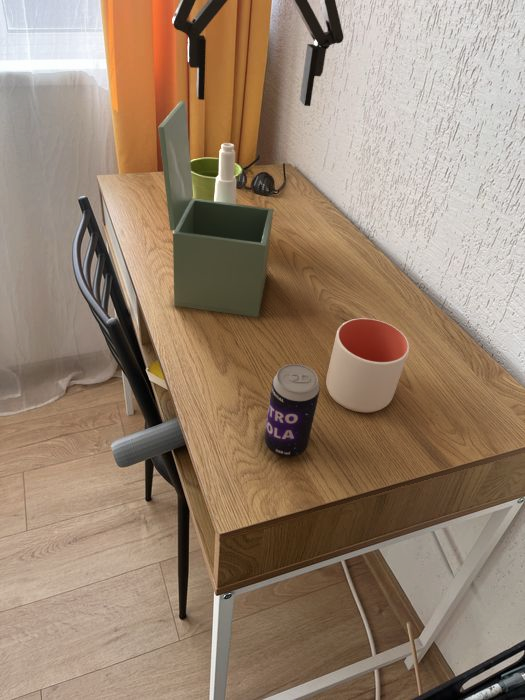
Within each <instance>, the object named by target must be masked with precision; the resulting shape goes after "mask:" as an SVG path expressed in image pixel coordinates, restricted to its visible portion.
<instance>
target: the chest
mask: <svg viewBox="0 0 525 700" xmlns="http://www.w3.org/2000/svg"><path fill="white" fill-rule="evenodd" d="M273 216H274V208H269V207H260V206H253V205H246V204H238V203H236V204H232V203H224V202H216V201H209V200H201V199H194V197H192V199H191V201H190V203H189V205H188V206H187V208H186V210H185V212H184V214H183V216H182V218H181V220H180V222H179V224H178V226H177V228H176V230H175V231H174V230H173V232H172V259H173V260H172V261H173V263H172V267H173V306H174V307H180V308H187V309H195V310H202V311H210V312H216V313H223V314H230V315H236V316H237V315H238V316H245V317H253V318H259V314H260V308H261V306H262V305H261V304H262V299H263V294H264V289H265V283H266V278H267V271H268V262H269V252H270V243H271V236H272V234H271V233H272V225H273Z"/></svg>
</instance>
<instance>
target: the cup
mask: <svg viewBox="0 0 525 700" xmlns="http://www.w3.org/2000/svg"><path fill="white" fill-rule="evenodd" d="M409 353H410V343H409V340H408V338H407V337H406V335H405V334H404V333H403V332H402V331H401V330H400V329H398V328H397V327H395V326H394V325H392V324H390V323H388V322H385V321H382V320H379V319H375V318H366V317H363V318H362V317H361V318H360V317H359V318H353V319H349V320H347V321H344V322H343V323H342V324H341V325H339V327H338V328H337V331H336V333H335V338H334V342H333V347H332V350H331V356H330V360H329V364H328V369H327V374H326V378H325V385H326V390H327V392H328V393H329V396H331V398H332V399H333V400H334V401H335V402H336V403H337V404H339V405H340V406H342V407H343V408H345V409H347V410H350V411H352V412H358V413H374V412H379V411H381V410H383V409H384V408H386V407H388V406H389V404H391V402H392V401H393V398H394V396H395V393H396V390H397V387H398V385H399V382H400V381H399V380H400V379H401V376H402V373H403V370H404V367H405V364H406V361H407V359H408V355H409Z"/></svg>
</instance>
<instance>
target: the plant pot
mask: <svg viewBox="0 0 525 700" xmlns="http://www.w3.org/2000/svg"><path fill="white" fill-rule="evenodd" d="M190 163H191V175H192V187H193V198H194V199H201V200H209V201H214V197H215V186H216V177H217V176H218V175H219V157H198V158H194V159H192V160H191V159H190ZM242 174H243V168H242V167H241V165H240V164H239V163H236V162H235V170H234V177H235V178H236V185H237V184H238V182H239V179H240V178H239V177H240V176H241V175H242Z"/></svg>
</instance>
